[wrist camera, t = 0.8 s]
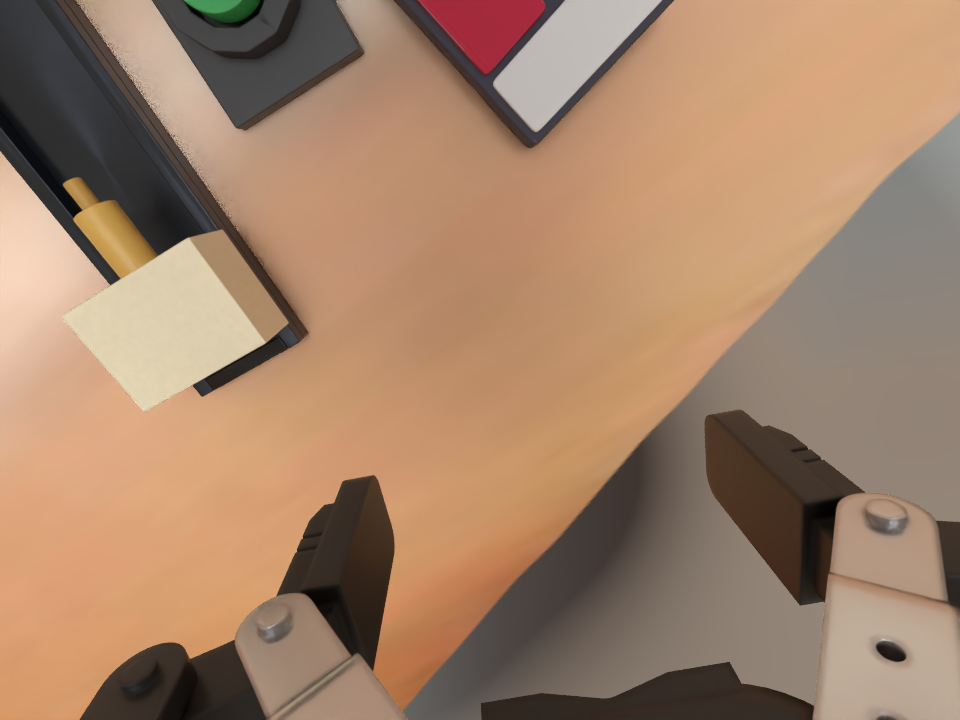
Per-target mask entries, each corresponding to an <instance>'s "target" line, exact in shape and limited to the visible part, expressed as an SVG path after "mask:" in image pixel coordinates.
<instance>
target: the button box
mask: <svg viewBox="0 0 960 720" xmlns="http://www.w3.org/2000/svg"><path fill="white" fill-rule="evenodd" d="M152 1H153V3H154V4H155V6H156V7H157V9H158V10H159V12H160V13H161V15H162V16H163V18H164V19H165V21H166V22H167V24H168V25H169V27H170V28H171V30H172V31H173V33H174V34H175V36H176V38H177V39H178V41H179V42H180V44H181V45H182V47H183V48H184V50H185V51H186V53H187V54H188V56H189V57H190V59H191V60H192V62H193V63H194V65H195V66H196V68H197V69H198V71H199V73H200V74H201V76H202V77H203V79H204V80H205V82H206V83H207V85H208V86H209V88H210V89H211V91H212V92H213V94H214V95H215V97H216V98H217V100H218V101H219V103H220V105H221V106H222V108H223V109H224V111H225V112H226V114H227V115H228V117H229V118H230V120H231V121H232V123H233V124H234V126H235V127H236V128H237V129H243V130H246V129H248V128H249V127H251V126H252V125H254V124H255V123H257V122H258V121H260V120H262V119H263V118H265V117H266V116H268V115H269V114H271V113H272V112H274V111H276V110H277V109H279V108H280V107H282V106H283V105H285V104H286V103H288V102H290V101H291V100H293V99H294V98H296V97H297V96H299V95H300V94H302V93H304V92H305V91H307V90H308V89H310V88H311V87H313V86H314V85H316V84H318V83H319V82H321V81H322V80H324V79H325V78H327V77H328V76H330V75H332V74H333V73H335V72H336V71H338V70H339V69H341V68H342V67H344V66H346V65H347V64H349V63H350V62H352V61H353V60H355V59H356V58H358V57H360V56H361V55H363V50H362V48H361V47H360V45H359V43H358V41H357V39H356V38H355V36H354V34H353V32H352V30H351V28H350V27H349V25H348V23H347V21H346V19H345V17H344V16H343V14H342V12H341V10H340V8H339V7H338V5H337V3H336V1H335V0H261V1H260V3H259V5H258V7H257V8H256V10H255V11H254V12H253V13H252V14H251V15H250V16H249V17H247V18H246V19H244V20H241V21H239V22H234V23H225V22H220V21H216V20H214V19H211V18H210V17H208V16H206V15H204V14H203V13H201V12H200V11H198V10H196V9H195V8H193V7H191V6H190V5H189V4H187V3H186V2H185V1H184V0H152Z"/></svg>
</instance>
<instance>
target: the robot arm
mask: <svg viewBox="0 0 960 720" xmlns="http://www.w3.org/2000/svg"><path fill="white" fill-rule="evenodd" d="M705 448H706V470H707V478H708V482H709V485H710V488H711V490H712V493H713V494H714V496H715V498H716V499H717V500H718V501H719V503H720V504H721V506H722V507H723V508H724V509H725V511H726V512H727V513H728V514H729V516H730V517H731V518H732V520H733V521H734V522H735V523H736V525H738V527H739V528H740V530H741V531H742V532H743V533H744V535H745V536H746V537H747V538H748V540H749V541H750V542H751V544H752V545H753V546H754V547H755V549H756V550H757V551H758V553H759V554H760V555H761V556H762V558H763V559H764V560H765V561H766V563H767V564H768V565H769V567H770V568H771V569H772V570H773V572H774V573H775V574H776V575H777V577H778V578H779V579H780V580H781V582H782V583H783V584H784V586H786V588H787V589H788V591H789V592H790V593H791V594H792V596H793V597H794V598H795V600H796V601H797V602H798V603H799V605H806V604H812V603H817V602H825V609H824V618H823V627H822V636H821V646H820V655H819V665H818V674H817V684H816V692H815V702H814V706H813V705H811V704H809V703H807V702H805V701H803V700H801V699H798V698H796V697H793V696H790V695H788V694H785V693H782V692H779V691H776V690H772V689H769V688H765V687H759V686H754V685H748V684H741V682H740V680H739V678H738V677H737V675H736V673H735V671H734V669H733V668H732V666H731V664H730V662H726V663H720V664H714V665H708V666H702V667H696V668H690V669H684V670H678V671H672V672H667V673H665V674H663V675H661V676H658V677H656V678H654V679H652V680H650V681H647V682H645V683H643V684H641V685H639V686H637V687H634V688H632V689H630V690H628V691H626V692H624V693H621V694H619V695H617V696H615V697H612V698H607V699H600V698H589V697H578V696H567V695H556V694H544V693H540V694H534V695H528V696H522V697H516V698H510V699H504V700H498V701H492V702H486V703H481V714H482V720H960V522H947V521H936V520H935V519H934V517H933V516H932V515H931V514H930V513H928V512H927V511H926V510H925V509H923V508H921V507H920V506H918V505H916V504H914V503H912V502H910V501H907V500H905V499H902V498H899V497H895V496H891V495H887V494H880V493H865V492H864V491H863V490H862V489H860V488H859V487H858V486H856V485H855V484H854V483H853V482H851V481H850V480H849V479H848V478H846V477H845V476H844V475H842V474H841V473H840V472H839V471H837V470H836V469H835V468H834V467H832V466H831V465H829V464H828V463H827V462H826V461H825V460H821V458H820V457H819V456H818V455H817V454H816V453H814V452H813V451H812V450H808V448H807V446H806V445H804V444H803V443H802V442H800V441H799V440H798V439H797V438H795V437H794V436H793V435H791V434H789V433H786V432H784V431H781V430H779V429H776V428H774V427H771V426H764V427H762V426H761V425H759V424H758V423H757V422H756V421H755V420H753V419H752V418H751V417H750V416H749V415H748V414H746V413H745V412H744V411H742V410H735V411H728V412H723V413H718V414H712V415H708V416H707V417H706V419H705ZM393 557H394V535H393V529H392V525H391V522H390V519H389V515H388V512H387V509H386V505H385V502H384V499H383V495H382V492H381V489H380V485H379V482H378V480H377V478H376V477H375V476H374V475H372V476H367V477H361V478H356V479H350V480H345V481H343V482H342V484H341V487H340V490H339V492H338V495H337V497H336V500H335V502H334V503H333V504H327V505H324V506H323V507H322V508H321V509H320V510H319V511H318V512H317V513H316V514H315V515H314V516H313V517H312V519H311V520H310V521H309V523H308V525H307V528H306V530H305V532H304V535H303V539H301V541H300V544H299V546H298V548H297V553H295V555H294V557H293V559H292V562H291V564H290V566H289V569H288V571H287V573H286V575H285V578H284V580H283V582H282V584H281V587H280V589H279V591H278V593H277V596H276V597H274V598H272V599H270V600H268V601H266V602H264V603H263V604H261V605H260V606H258V607H257V608H256V609H255V610H253V611H252V612H251V613H250V614H249V615H248V616H247V617H246V618H245V619H244V621H243V622H242V623H241V625H240V627H239V628H238V631H237V633H236V636H235V640H233V641H231V642H229V643H227V644H224V645H222V646H220V647H217V648H215V649H213V650H210V651H208V652H206V653H203V654H201V655H199V656H196V657H194V658H192V659H190V658H189V656H188V654H187V652H186V650H185V649H184V647H183V646H182V645H180V644H178V643H162V644H158V645H155V646H152V647H150V648H147V649H145V650H143V651H141V652H139V653H138V654H136V655H134V656H133V657H131V658H130V659H128V660H127V661H126V662H124V663H123V664H122V665H121V666H119V667H118V668H117V669H116V670H115V671H114V672H113V673H112V674H111V675H110V676H109V677H108V678H107V680H106V681H105V682H104V683H103V685H102V686H101V687H100V689H99V691H98V692H97V694H96V695H95V697H94V698H93V700H92V701H91V703H90V704H89V706H88V707H87V709H86V711H85V712H84V714H83V715H82V717H81V718H80V720H408V719H407V717H406V716H405V715H404V713H403V712H402V710H401V709H400V708H399V706H398V705H397V704H396V702H395V701H394V700H393V698H392V697H391V696H390V694H389V693H388V692H387V690H386V689H385V687H384V686H383V685H382V683H381V682H380V681H379V679H378V678H377V677H376V675H375V674H374V673H373V669H374V663H375V658H376V652H377V646H378V641H379V635H380V630H381V624H382V619H383V613H384V607H385V602H386V596H387V591H388V585H389V580H390V574H391V568H392V563H393Z"/></svg>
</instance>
